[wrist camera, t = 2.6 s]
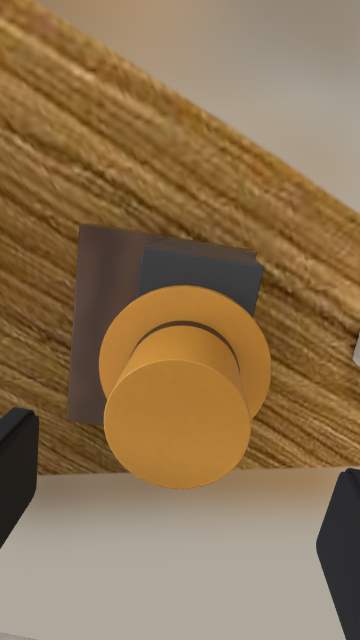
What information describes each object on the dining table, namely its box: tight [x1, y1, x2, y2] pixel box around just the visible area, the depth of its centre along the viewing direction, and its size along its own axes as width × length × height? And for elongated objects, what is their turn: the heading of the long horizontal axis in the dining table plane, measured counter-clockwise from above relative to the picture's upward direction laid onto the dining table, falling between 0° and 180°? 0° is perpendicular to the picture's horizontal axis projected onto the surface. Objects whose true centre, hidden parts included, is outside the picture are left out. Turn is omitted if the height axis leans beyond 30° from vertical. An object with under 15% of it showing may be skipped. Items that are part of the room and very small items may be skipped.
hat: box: [99, 285, 272, 489], centre depth 15 cm, size 9×9×6 cm
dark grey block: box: [136, 238, 264, 318], centre depth 24 cm, size 6×12×12 cm, turn 171°
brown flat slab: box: [66, 224, 257, 427], centre depth 33 cm, size 15×19×4 cm
